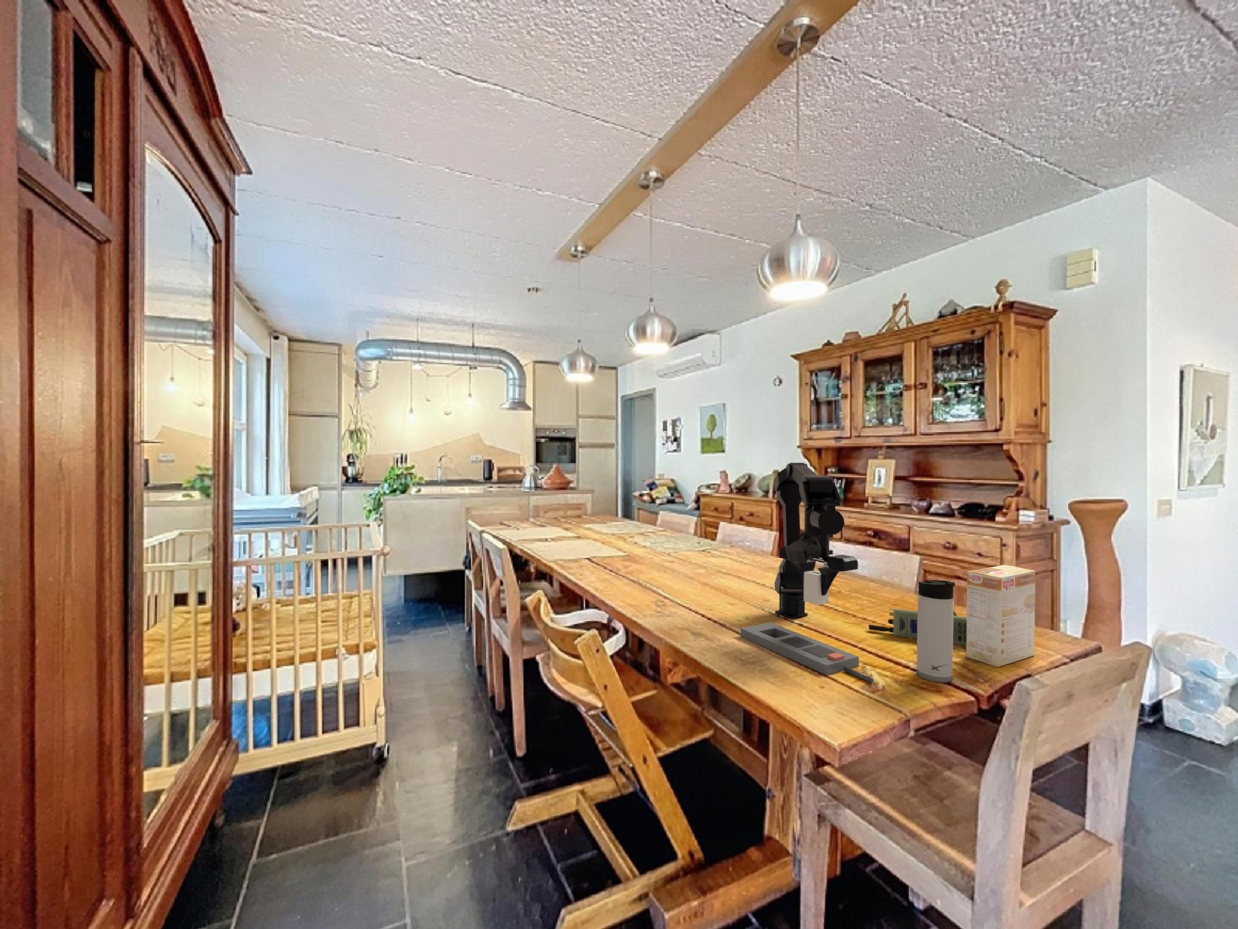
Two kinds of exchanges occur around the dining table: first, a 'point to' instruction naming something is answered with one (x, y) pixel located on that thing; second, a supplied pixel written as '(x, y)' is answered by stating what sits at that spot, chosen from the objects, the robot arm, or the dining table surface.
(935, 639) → the travel mug
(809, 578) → the block
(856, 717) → the dining table surface
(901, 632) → the handheld radio
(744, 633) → the power strip
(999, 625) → the coffeecake box
